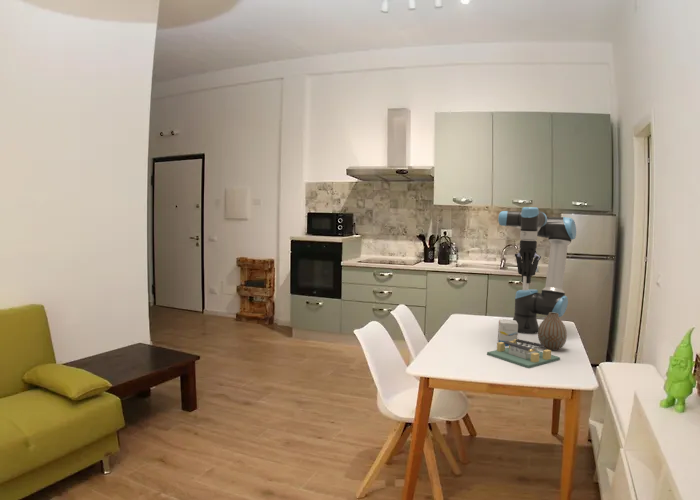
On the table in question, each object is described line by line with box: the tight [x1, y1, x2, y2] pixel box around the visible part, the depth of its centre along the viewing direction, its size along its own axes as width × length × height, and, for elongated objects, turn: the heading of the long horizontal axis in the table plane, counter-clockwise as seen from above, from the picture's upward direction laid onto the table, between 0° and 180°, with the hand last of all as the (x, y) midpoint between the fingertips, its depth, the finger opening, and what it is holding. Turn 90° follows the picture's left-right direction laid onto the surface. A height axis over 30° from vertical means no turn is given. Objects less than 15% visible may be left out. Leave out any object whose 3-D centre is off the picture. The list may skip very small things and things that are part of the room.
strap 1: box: [504, 341, 535, 352], centre depth 217 cm, size 3×14×1 cm, turn 34°
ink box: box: [497, 318, 519, 347], centre depth 241 cm, size 8×8×12 cm
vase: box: [537, 312, 568, 351], centre depth 235 cm, size 13×13×18 cm
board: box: [486, 341, 561, 369], centre depth 219 cm, size 23×22×5 cm
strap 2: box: [513, 338, 544, 348], centre depth 222 cm, size 3×14×1 cm, turn 34°
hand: (525, 289), depth 228 cm, fingers closed
